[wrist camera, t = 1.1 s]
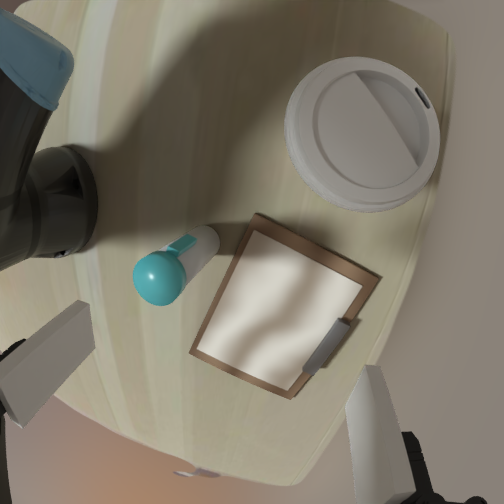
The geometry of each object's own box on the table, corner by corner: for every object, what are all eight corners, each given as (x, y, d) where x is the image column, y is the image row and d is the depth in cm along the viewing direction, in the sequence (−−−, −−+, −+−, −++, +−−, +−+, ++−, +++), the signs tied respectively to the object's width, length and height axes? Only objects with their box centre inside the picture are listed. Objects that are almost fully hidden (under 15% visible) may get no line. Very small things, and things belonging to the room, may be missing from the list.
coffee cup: (391, 185, 28) (463, 204, 13) (302, 201, 30) (304, 233, 15) (370, 95, 25) (426, 42, 11) (280, 110, 27) (262, 60, 13)
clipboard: (190, 350, 37) (185, 357, 35) (255, 212, 31) (252, 215, 29) (290, 396, 37) (290, 404, 35) (377, 276, 30) (381, 282, 29)
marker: (185, 246, 33) (127, 290, 21) (199, 213, 32) (142, 242, 20) (215, 262, 33) (170, 314, 21) (230, 229, 32) (188, 267, 20)
